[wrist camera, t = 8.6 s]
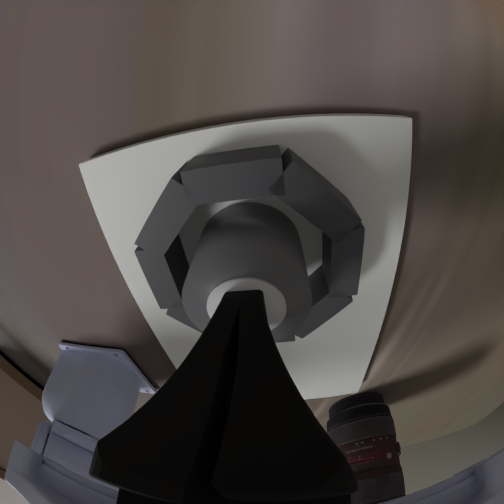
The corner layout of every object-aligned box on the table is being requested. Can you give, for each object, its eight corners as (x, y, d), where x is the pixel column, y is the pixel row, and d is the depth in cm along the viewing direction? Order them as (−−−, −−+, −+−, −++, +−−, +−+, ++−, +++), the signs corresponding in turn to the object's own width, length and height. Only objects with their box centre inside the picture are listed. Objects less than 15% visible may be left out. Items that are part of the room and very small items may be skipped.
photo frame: (-3, 345, 29) (-48, 449, 8) (81, 412, 39) (55, 510, 18) (-10, 354, 34) (-46, 437, 13) (58, 410, 44) (34, 489, 23)
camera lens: (351, 386, 24) (367, 521, 11) (400, 390, 25) (421, 501, 13) (309, 414, 28) (313, 525, 16) (358, 417, 30) (368, 513, 17)
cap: (211, 289, 15) (199, 350, 12) (190, 208, 12) (163, 262, 9) (301, 282, 15) (310, 344, 11) (298, 197, 12) (314, 249, 8)
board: (200, 393, 25) (196, 419, 23) (88, 158, 12) (52, 180, 9) (356, 384, 23) (361, 411, 21) (402, 115, 10) (438, 127, 7)
